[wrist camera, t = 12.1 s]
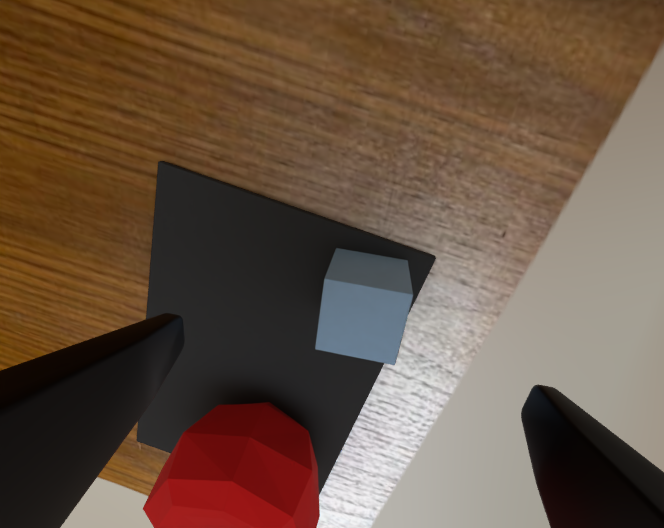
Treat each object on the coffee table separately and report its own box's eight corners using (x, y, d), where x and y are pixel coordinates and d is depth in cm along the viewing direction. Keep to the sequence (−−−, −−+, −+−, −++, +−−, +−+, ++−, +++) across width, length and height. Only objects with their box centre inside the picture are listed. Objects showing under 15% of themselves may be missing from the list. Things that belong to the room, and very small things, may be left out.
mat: (435, 255, 18) (436, 258, 18) (315, 500, 28) (314, 504, 28) (162, 160, 18) (158, 161, 18) (139, 437, 28) (136, 441, 28)
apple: (194, 457, 28) (100, 621, 19) (201, 361, 23) (83, 514, 14) (316, 494, 27) (281, 680, 18) (346, 403, 23) (321, 589, 14)
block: (407, 259, 18) (413, 294, 14) (393, 320, 20) (394, 365, 16) (336, 247, 18) (324, 278, 15) (327, 308, 20) (314, 349, 16)
